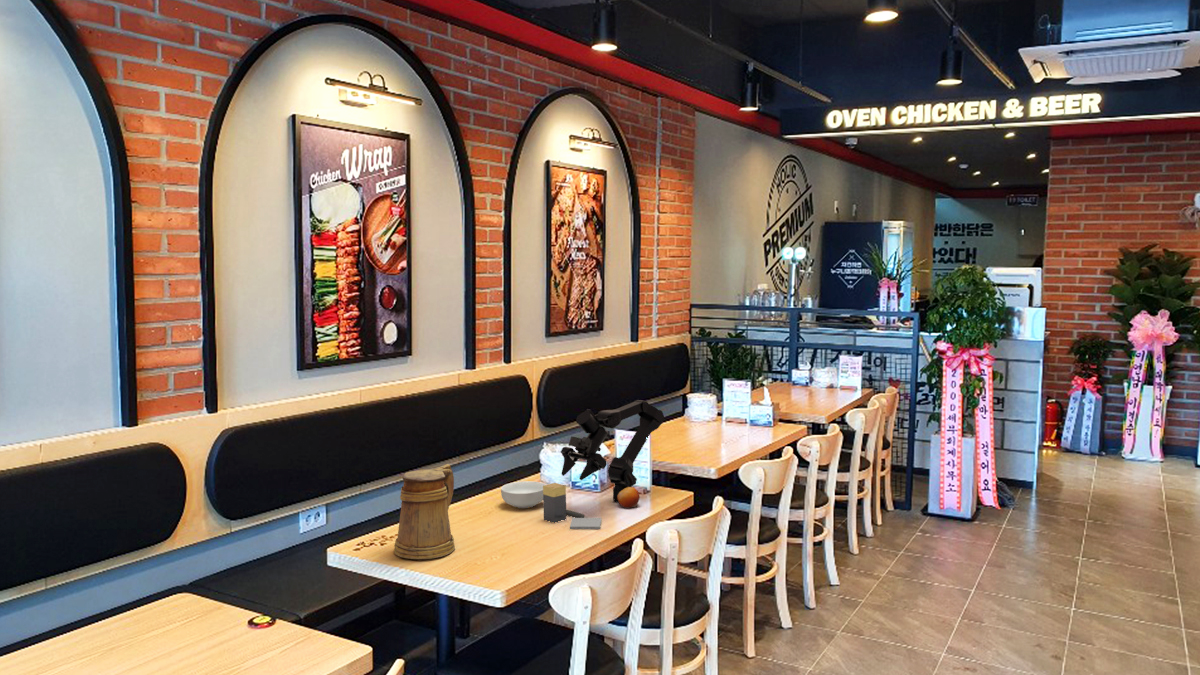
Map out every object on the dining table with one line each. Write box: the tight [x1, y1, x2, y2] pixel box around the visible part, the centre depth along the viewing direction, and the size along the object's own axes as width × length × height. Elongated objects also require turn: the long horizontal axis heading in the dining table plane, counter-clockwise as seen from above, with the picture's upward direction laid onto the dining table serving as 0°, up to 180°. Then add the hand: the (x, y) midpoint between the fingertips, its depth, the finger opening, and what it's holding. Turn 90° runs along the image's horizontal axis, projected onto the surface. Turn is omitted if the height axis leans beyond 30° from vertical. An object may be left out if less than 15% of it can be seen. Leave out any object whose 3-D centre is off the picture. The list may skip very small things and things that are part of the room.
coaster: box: [569, 517, 602, 530], centre depth 299 cm, size 10×10×1 cm
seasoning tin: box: [542, 482, 567, 524], centre depth 305 cm, size 6×6×12 cm
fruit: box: [617, 486, 640, 509], centre depth 321 cm, size 8×8×8 cm
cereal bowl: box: [500, 480, 547, 509], centre depth 324 cm, size 17×17×7 cm
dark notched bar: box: [566, 508, 586, 518], centre depth 311 cm, size 14×2×2 cm, turn 44°
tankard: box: [393, 463, 456, 560], centre depth 276 cm, size 18×24×25 cm
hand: (571, 477), depth 310 cm, fingers open, 9 cm apart
